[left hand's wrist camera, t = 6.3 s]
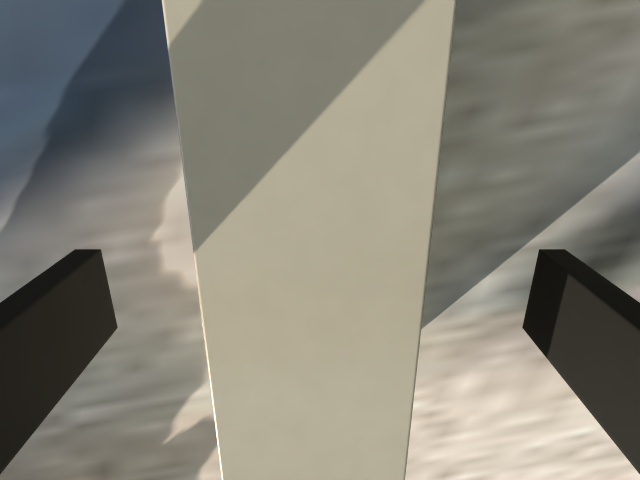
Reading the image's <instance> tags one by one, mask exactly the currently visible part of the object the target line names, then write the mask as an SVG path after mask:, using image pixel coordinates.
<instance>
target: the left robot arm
mask: <svg viewBox="0 0 640 480" xmlns="http://www.w3.org/2000/svg"><path fill="white" fill-rule="evenodd" d="M116 329H117V323H116V318H115V314H114V309H113V304H112V300H111V295H110V290H109V286H108V281H107V276H106V272H105V267H104V262H103V258H102V253H101V249H75V250H74V251H72V252H71V253H69V254H68V255H67V256H65V257H64V258H62V259H61V260H60V261H58V262H57V263H55V264H54V265H53V266H51V267H50V268H48V269H47V270H46V271H44V272H43V273H41V274H40V275H39V276H37V277H36V278H34V279H33V280H32V281H30V282H29V283H27V284H26V285H25V286H23V287H22V288H20V289H19V290H18V291H16V292H15V293H13V294H12V295H11V296H9V297H8V298H6V299H5V300H4V301H2V302H1V303H0V474H1V473H2V471H3V470H4V469H5V468H6V466H7V465H8V464H9V463H10V461H11V460H12V459H13V458H14V456H15V455H16V454H17V453H18V451H19V450H20V449H21V448H22V446H23V445H24V444H25V443H26V441H27V440H28V439H29V438H30V436H31V435H32V434H33V433H34V431H35V430H36V429H37V428H38V426H39V425H40V424H41V423H42V421H43V420H44V419H45V418H46V416H47V415H48V414H49V413H50V411H51V410H52V409H53V408H54V406H55V405H56V404H57V403H58V401H59V400H60V399H61V398H62V396H63V395H64V394H65V393H66V391H67V390H68V389H69V388H70V386H71V385H72V384H73V383H74V381H75V380H76V379H77V378H78V376H79V375H80V374H81V373H82V371H83V370H84V369H85V368H86V366H87V365H88V364H89V363H90V361H91V360H92V359H93V358H94V356H95V355H96V354H97V353H98V351H99V350H100V349H101V348H102V346H103V345H104V344H105V343H106V341H107V340H108V339H109V338H110V336H111V335H112V334H113V333H114V331H115V330H116ZM523 329H524V330H525V331H526V333H527V334H528V335H529V336H530V338H531V339H532V340H533V341H534V343H535V344H536V345H537V346H538V348H539V349H540V350H541V351H542V353H543V354H544V355H545V356H546V358H547V359H548V360H549V361H550V363H551V364H552V365H553V366H554V368H555V369H556V370H557V371H558V373H559V374H560V375H561V376H562V378H563V379H564V380H565V381H566V383H567V384H568V385H569V386H570V388H571V389H572V390H573V391H574V393H575V394H576V395H577V396H578V398H579V399H580V400H581V401H582V403H583V404H584V405H585V406H586V408H587V409H588V410H589V411H590V413H591V414H592V415H593V416H594V418H595V419H596V420H597V421H598V423H599V424H600V425H601V426H602V428H603V429H604V430H605V431H606V433H607V434H608V435H609V436H610V438H611V439H612V440H613V441H614V443H615V444H616V445H617V446H618V448H619V449H620V450H621V451H622V453H623V454H624V455H625V456H626V458H627V459H628V460H629V461H630V463H631V464H632V465H633V466H634V468H635V469H636V470H637V471H638V473H639V474H640V303H639V302H638V301H636V300H635V299H634V298H632V297H631V296H629V295H628V294H627V293H625V292H624V291H622V290H621V289H620V288H618V287H617V286H615V285H614V284H613V283H611V282H610V281H608V280H607V279H606V278H604V277H603V276H601V275H600V274H599V273H597V272H596V271H594V270H593V269H592V268H590V267H589V266H587V265H586V264H585V263H583V262H582V261H580V260H579V259H578V258H576V257H575V256H573V255H572V254H570V253H569V252H568V251H566V250H565V249H539V253H538V258H537V262H536V267H535V272H534V276H533V281H532V286H531V290H530V295H529V300H528V304H527V309H526V314H525V318H524V323H523Z"/></svg>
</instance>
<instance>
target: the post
mask: <svg viewBox="0 0 640 480" xmlns="http://www.w3.org/2000/svg"><path fill="white" fill-rule="evenodd" d="M456 4H457V0H162V5H163V13H164V21H165V29H166V37H167V45H168V53H169V61H170V69H171V77H172V85H173V93H174V101H175V109H176V117H177V125H178V132H179V140H180V148H181V156H182V164H183V172H184V180H185V188H186V196H187V204H188V212H189V220H190V228H191V236H192V244H193V252H194V260H195V268H196V276H197V284H198V292H199V300H200V308H201V316H202V324H203V332H204V340H205V348H206V356H207V364H208V372H209V380H210V388H211V396H212V404H213V412H214V420H215V428H216V436H217V444H218V452H219V460H220V468H221V476H222V480H405V474H406V464H407V455H408V446H409V437H410V428H411V418H412V409H413V400H414V391H415V382H416V372H417V363H418V354H419V345H420V335H421V326H422V317H423V308H424V299H425V289H426V280H427V271H428V262H429V252H430V243H431V234H432V225H433V216H434V206H435V197H436V188H437V179H438V170H439V160H440V151H441V142H442V133H443V123H444V114H445V105H446V96H447V87H448V77H449V68H450V59H451V50H452V41H453V31H454V22H455V13H456Z"/></svg>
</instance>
